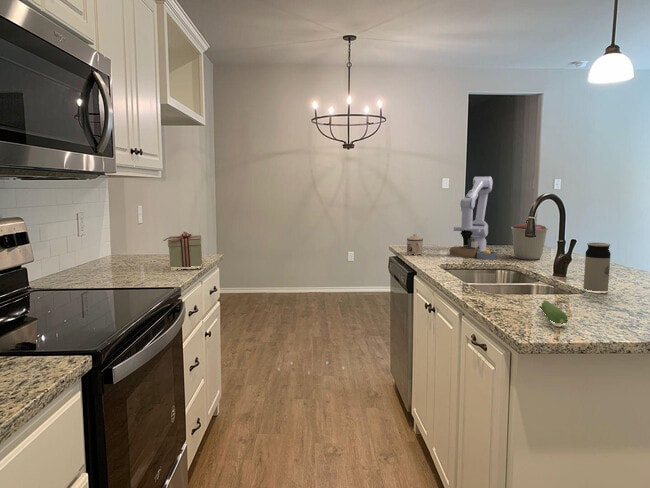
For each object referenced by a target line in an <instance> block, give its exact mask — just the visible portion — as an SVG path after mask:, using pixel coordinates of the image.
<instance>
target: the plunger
mask: <svg viewBox="0 0 650 488" xmlns="http://www.w3.org/2000/svg"><path fill="white" fill-rule="evenodd" d="M474 239H475V238H472V237H470V238H469V239H468V245H467V246H468V247H473V248H478V241H474Z"/></svg>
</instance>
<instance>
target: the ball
mask: <svg viewBox="0 0 650 488" xmlns="http://www.w3.org/2000/svg"><path fill="white" fill-rule="evenodd" d="M490 252H491V251H490V250H489V249H486V250H484V251H483V254H491V253H490Z"/></svg>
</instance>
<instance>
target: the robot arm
mask: <svg viewBox="0 0 650 488" xmlns="http://www.w3.org/2000/svg"><path fill="white" fill-rule="evenodd" d="M493 183H494V182H493V178H492V176H474V177H473V180H472V185H473V186H472V188H471V189H470V190H468V192H467V194H466V195H465V197H463V198H461V200H460V203H459V205H460V212H461V227H459V226H458V227H456V226H455V227H453V231H454V232H460V235H461V238H462V239H463V246H464V245H466V246H468V239H469V238H475V239H474V241H478V247H480V251H484V250H487V239H486V237H487V236H488V234H489V224H488V223H487V221H485V216H486V208H487V203H488V196H489V193H491V192H492V189H493ZM477 199H478V201H477V206H476V200H477ZM475 207H476V212H475V219H473V218H474V217H473V216H474V215H473V214H474V208H475Z"/></svg>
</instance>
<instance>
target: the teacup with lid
mask: <svg viewBox="0 0 650 488" xmlns="http://www.w3.org/2000/svg"><path fill="white" fill-rule="evenodd" d="M423 241H424V238H422V237H420V236H419V235H418V234H417V233H413V234H412V235H411V236H409V237H407V238H406V254H407V255H408V254H415V255H414V256H418V255H417V254H422V255H423Z"/></svg>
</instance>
